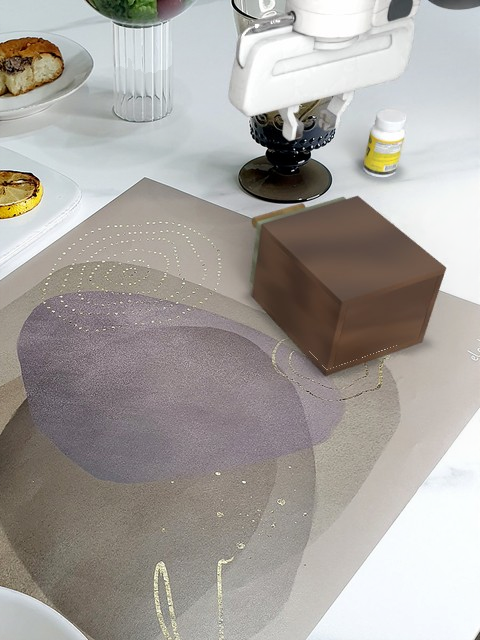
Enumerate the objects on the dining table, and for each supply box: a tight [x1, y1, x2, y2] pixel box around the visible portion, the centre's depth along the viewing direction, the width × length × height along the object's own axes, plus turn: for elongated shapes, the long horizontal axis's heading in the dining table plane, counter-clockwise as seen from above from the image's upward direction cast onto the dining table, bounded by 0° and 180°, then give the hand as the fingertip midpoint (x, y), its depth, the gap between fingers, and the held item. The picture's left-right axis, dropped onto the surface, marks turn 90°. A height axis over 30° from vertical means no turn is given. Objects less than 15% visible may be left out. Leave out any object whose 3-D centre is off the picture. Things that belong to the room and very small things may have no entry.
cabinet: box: [251, 195, 447, 377], centre depth 98 cm, size 16×13×11 cm
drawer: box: [249, 196, 347, 286], centre depth 101 cm, size 19×12×9 cm, turn 23°
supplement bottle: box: [362, 108, 407, 178], centre depth 121 cm, size 5×5×8 cm
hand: (310, 132), depth 95 cm, fingers open, 3 cm apart
